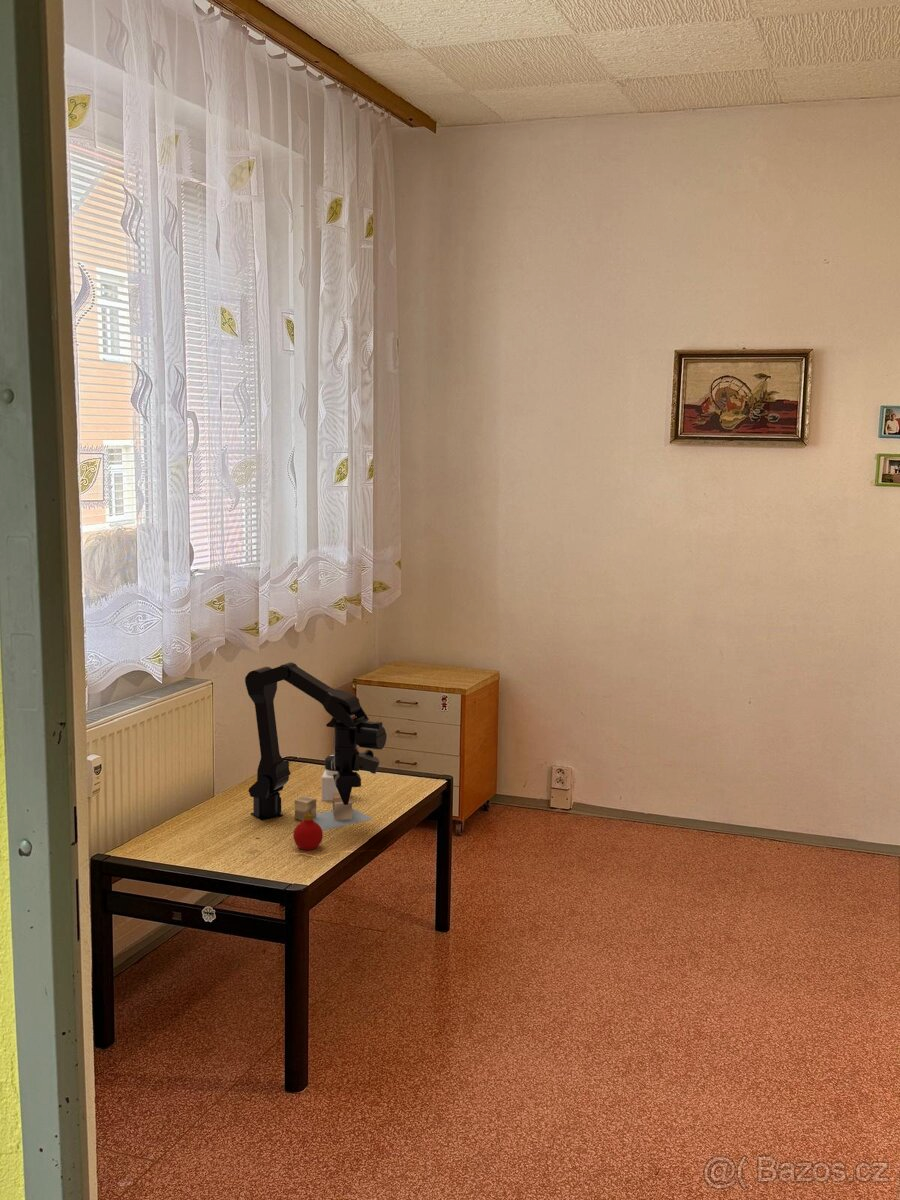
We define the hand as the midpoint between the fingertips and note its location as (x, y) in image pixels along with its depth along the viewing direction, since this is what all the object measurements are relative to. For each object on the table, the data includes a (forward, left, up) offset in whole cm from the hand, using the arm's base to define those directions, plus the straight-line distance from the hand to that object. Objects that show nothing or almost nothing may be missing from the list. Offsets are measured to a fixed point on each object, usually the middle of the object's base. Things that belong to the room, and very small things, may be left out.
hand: (345, 804), depth 290 cm
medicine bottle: (+12, +23, -7) cm, 27 cm away
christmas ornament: (-15, -6, -7) cm, 18 cm away
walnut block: (+3, +6, -4) cm, 8 cm away
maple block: (-4, +13, -6) cm, 15 cm away
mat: (+2, +8, -7) cm, 10 cm away
